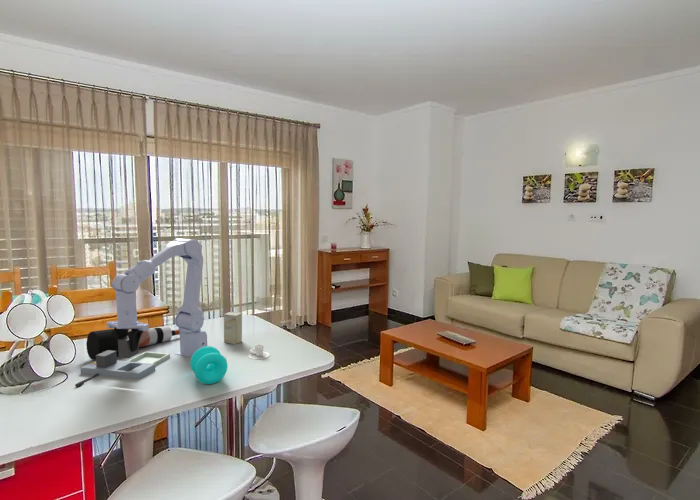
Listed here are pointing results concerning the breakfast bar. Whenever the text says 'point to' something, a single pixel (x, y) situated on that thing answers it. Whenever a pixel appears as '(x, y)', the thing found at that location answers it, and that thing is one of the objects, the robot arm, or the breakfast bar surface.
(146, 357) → the tray
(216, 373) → the teal spool
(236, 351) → the breakfast bar surface
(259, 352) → the teacup and saucer
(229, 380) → the breakfast bar surface
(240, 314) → the skincare box
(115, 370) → the power strip
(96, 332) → the black white cylindrical piece
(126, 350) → the plug
